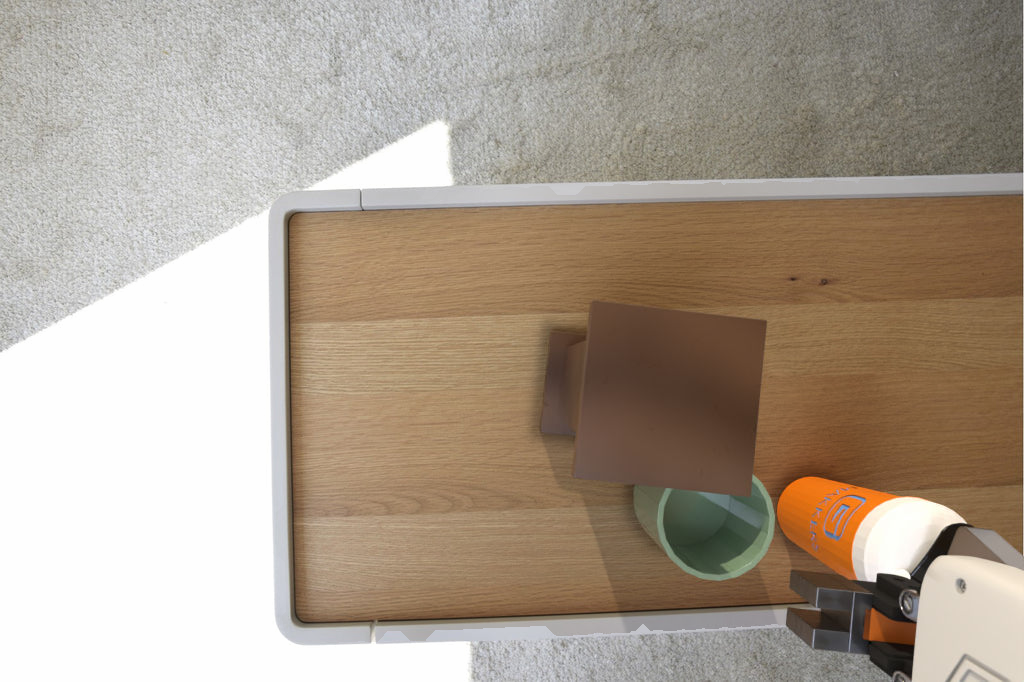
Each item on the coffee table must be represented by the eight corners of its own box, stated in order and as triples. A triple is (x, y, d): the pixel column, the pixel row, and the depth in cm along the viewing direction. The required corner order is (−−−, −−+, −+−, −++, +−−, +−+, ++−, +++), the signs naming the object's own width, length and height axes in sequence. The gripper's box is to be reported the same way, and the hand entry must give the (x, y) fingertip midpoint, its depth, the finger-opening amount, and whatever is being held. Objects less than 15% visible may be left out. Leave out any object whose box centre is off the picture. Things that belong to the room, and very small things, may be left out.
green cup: (727, 553, 65) (769, 586, 55) (628, 542, 65) (651, 573, 55) (736, 453, 66) (780, 467, 56) (638, 442, 66) (663, 454, 56)
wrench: (907, 581, 35) (946, 601, 32) (902, 638, 35) (940, 663, 32) (790, 568, 35) (817, 587, 32) (785, 625, 35) (812, 649, 32)
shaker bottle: (868, 489, 66) (1030, 540, 46) (833, 571, 65) (982, 659, 45) (788, 452, 66) (915, 487, 46) (752, 534, 65) (865, 605, 45)
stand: (638, 442, 66) (750, 497, 37) (539, 430, 65) (573, 477, 36) (648, 342, 66) (767, 320, 37) (550, 331, 66) (592, 299, 37)
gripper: (1176, 546, 16) (817, 453, 35) (1133, 1206, 16) (790, 755, 34) (1467, 579, 17) (956, 468, 35) (1436, 1235, 16) (932, 769, 34)
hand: (876, 611), depth 34 cm, fingers closed on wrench
